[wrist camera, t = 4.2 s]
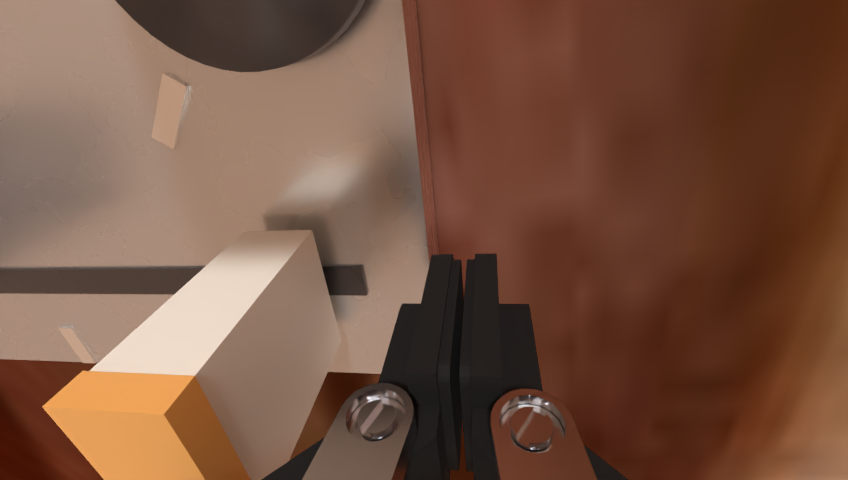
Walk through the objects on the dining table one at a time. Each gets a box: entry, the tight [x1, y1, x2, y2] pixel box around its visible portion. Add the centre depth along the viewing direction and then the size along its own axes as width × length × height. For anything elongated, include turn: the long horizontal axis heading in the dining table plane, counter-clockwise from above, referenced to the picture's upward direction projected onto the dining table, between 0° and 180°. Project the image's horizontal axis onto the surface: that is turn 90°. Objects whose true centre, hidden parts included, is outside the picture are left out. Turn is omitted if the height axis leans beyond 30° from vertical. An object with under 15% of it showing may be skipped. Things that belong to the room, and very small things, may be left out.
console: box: [0, 0, 439, 374], centre depth 12 cm, size 20×16×2 cm
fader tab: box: [43, 230, 341, 480], centre depth 9 cm, size 2×4×6 cm, turn 6°
